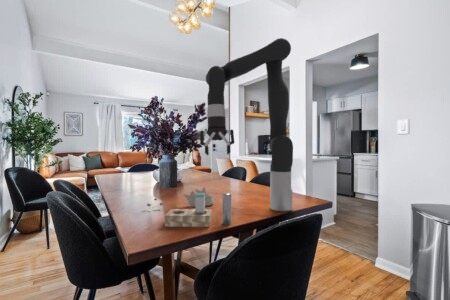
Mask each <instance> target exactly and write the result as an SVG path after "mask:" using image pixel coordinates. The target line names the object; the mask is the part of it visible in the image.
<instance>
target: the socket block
mask: <svg viewBox="0 0 450 300" xmlns="http://www.w3.org/2000/svg"><path fill="white" fill-rule="evenodd" d="M212 213H213V212H212V209H205V214H195V208H194V209H188V208H186V209H182V208H177V209H176V208H175V209H174V208H173V209H170V210H169V211H168V212H167V213H166V214H165V215H164V222H165V223H164V227H169V228H170V227H171V228H174V227H175V228H176V227H177V228H178V227H180V228H187V227H188V228H192V227H193V228H200V227H201V228H206V227H207V228H210V227H211V224H212V220H213V218H212V215H213V214H212Z"/></svg>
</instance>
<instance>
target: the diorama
mask: <svg viewBox="0 0 450 300" xmlns="http://www.w3.org/2000/svg"><path fill="white" fill-rule="evenodd" d="M153 199H154V201H157V198H153ZM158 205H159V206H161V207H162V206H164V202H163V201H162V202H159V203H158ZM146 206H147V207H148V208H149V210H148V212H153V211H159V210H160V211H161V208H160V207H159V208H157V209H150V208H151V206H152V203H149V202H147V204H146Z"/></svg>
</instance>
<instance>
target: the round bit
mask: <svg viewBox="0 0 450 300" xmlns="http://www.w3.org/2000/svg"><path fill="white" fill-rule="evenodd" d="M222 225H224V226H225V225H228V226H229V225H232V193H230V192H225V193H222Z"/></svg>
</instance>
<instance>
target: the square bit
mask: <svg viewBox="0 0 450 300" xmlns="http://www.w3.org/2000/svg"><path fill="white" fill-rule="evenodd" d="M194 194H195V206H194V209H195V214H205V210H206V206H205V193H197V192H196V193H194Z"/></svg>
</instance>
